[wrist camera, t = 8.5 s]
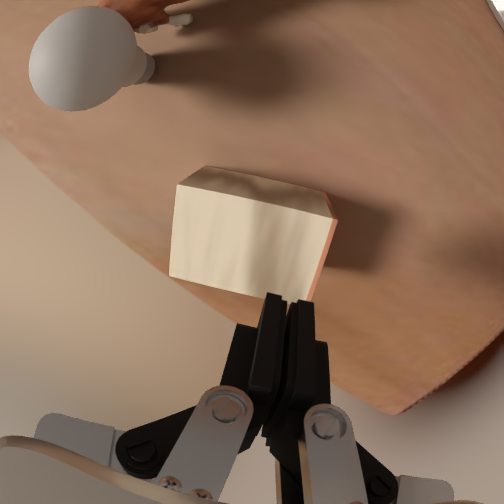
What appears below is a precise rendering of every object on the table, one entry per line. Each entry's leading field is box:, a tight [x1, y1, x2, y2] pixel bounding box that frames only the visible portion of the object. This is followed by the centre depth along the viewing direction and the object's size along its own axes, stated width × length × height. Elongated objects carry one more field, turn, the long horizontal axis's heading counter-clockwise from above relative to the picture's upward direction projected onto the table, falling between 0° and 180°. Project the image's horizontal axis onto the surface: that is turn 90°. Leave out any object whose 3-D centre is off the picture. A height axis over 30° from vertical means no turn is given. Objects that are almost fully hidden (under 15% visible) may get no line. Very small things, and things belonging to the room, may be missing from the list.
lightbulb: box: [29, 6, 155, 112], centre depth 13 cm, size 6×6×11 cm
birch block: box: [169, 166, 338, 304], centre depth 20 cm, size 6×6×9 cm
